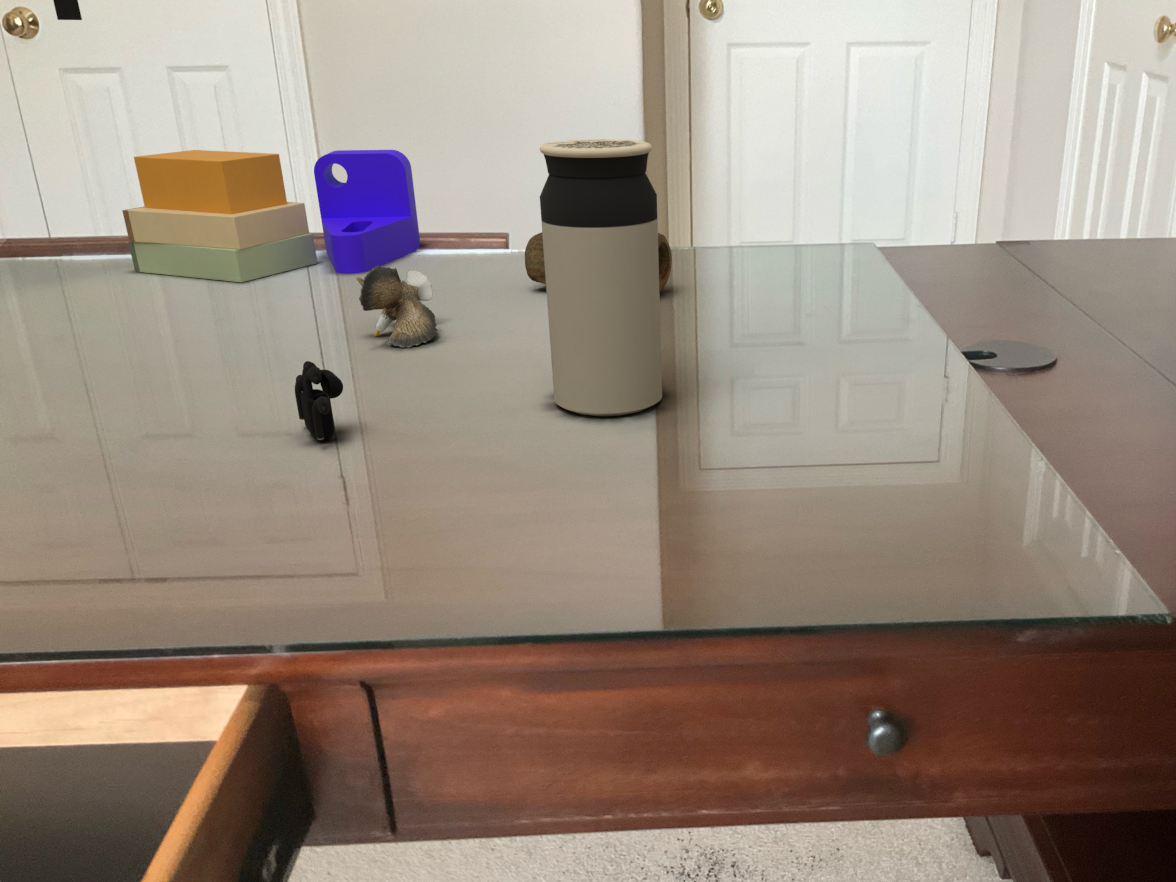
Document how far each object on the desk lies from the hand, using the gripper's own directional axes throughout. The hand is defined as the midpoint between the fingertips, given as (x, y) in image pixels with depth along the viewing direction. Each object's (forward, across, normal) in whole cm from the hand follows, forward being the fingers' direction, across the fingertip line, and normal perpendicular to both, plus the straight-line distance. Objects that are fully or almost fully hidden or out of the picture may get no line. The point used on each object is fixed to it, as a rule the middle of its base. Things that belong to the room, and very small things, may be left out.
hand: (11, 19), depth 110 cm
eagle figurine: (+26, +7, +50) cm, 57 cm away
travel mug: (+25, +18, +77) cm, 83 cm away
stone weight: (+26, -16, +58) cm, 66 cm away
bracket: (+26, -22, +23) cm, 41 cm away
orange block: (+19, -11, +11) cm, 25 cm away
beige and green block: (+26, -11, +11) cm, 31 cm away
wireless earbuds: (+26, +32, +63) cm, 75 cm away
